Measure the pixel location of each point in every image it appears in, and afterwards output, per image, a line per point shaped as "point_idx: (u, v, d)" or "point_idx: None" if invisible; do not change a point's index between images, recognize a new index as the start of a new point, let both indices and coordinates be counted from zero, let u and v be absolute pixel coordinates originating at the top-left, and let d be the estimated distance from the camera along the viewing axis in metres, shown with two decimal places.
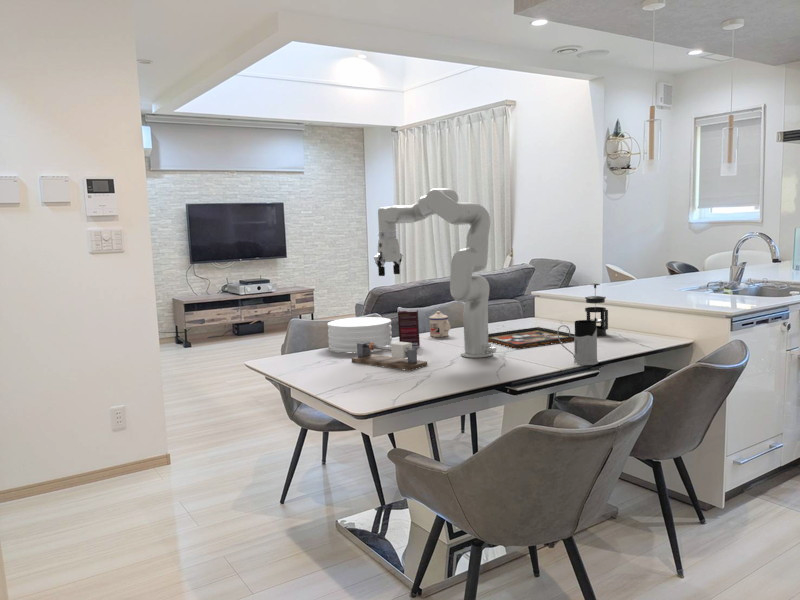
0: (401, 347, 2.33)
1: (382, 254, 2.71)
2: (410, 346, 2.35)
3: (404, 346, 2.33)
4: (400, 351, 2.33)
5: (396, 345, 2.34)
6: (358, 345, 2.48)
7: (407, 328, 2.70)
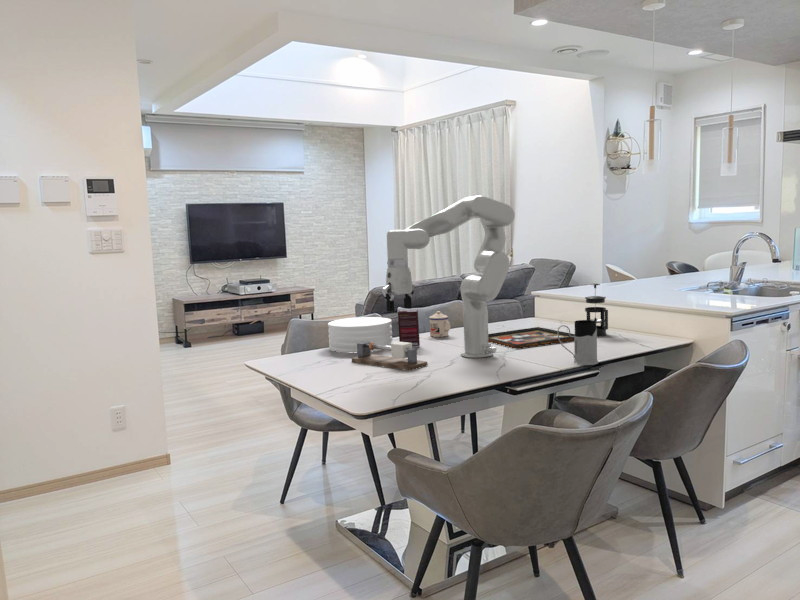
0: (401, 347, 2.33)
1: (391, 286, 2.29)
2: (410, 346, 2.35)
3: (404, 346, 2.33)
4: (400, 351, 2.33)
5: (396, 345, 2.34)
6: (358, 345, 2.48)
7: (407, 328, 2.70)
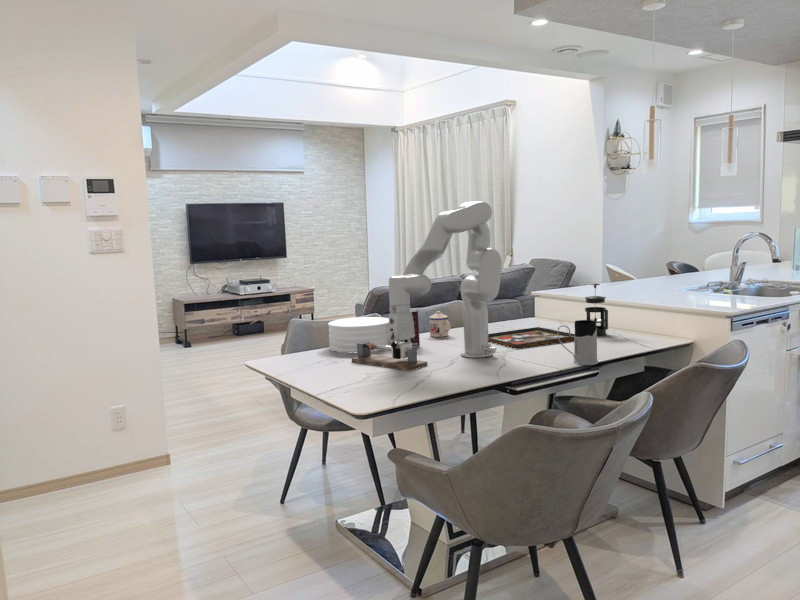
0: (401, 347, 2.33)
1: (394, 335, 2.31)
2: (410, 346, 2.35)
3: (404, 346, 2.33)
4: (400, 351, 2.33)
5: None
6: (358, 345, 2.48)
7: None
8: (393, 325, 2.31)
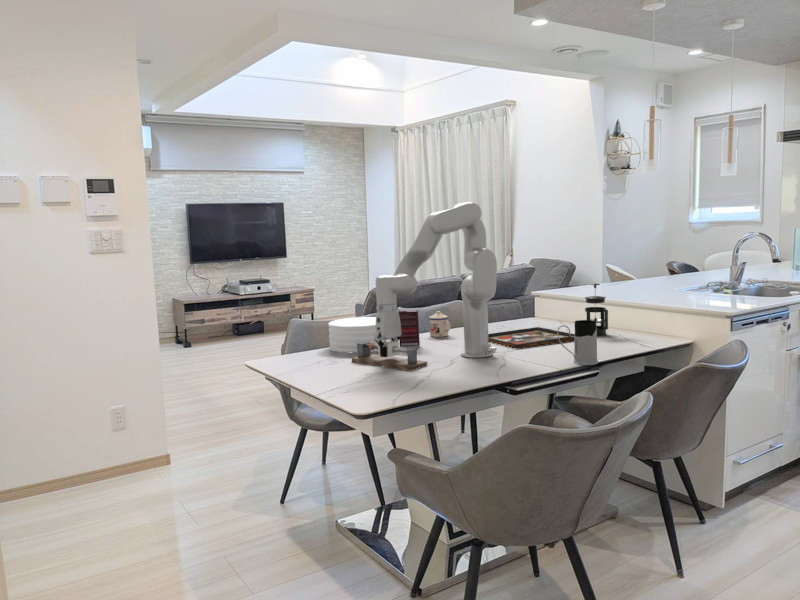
0: (388, 345, 2.37)
1: (381, 334, 2.35)
2: (397, 344, 2.40)
3: (391, 344, 2.37)
4: (387, 349, 2.38)
5: None
6: (358, 345, 2.48)
7: (407, 328, 2.70)
8: (380, 324, 2.35)
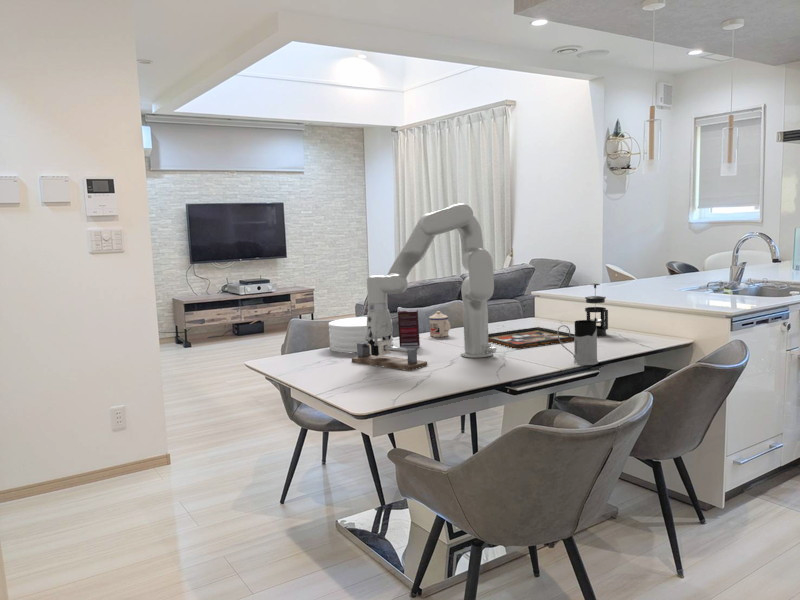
0: (379, 344, 2.40)
1: (372, 333, 2.38)
2: (388, 343, 2.43)
3: (382, 343, 2.40)
4: (378, 348, 2.41)
5: None
6: (358, 345, 2.48)
7: (407, 328, 2.70)
8: (371, 323, 2.38)
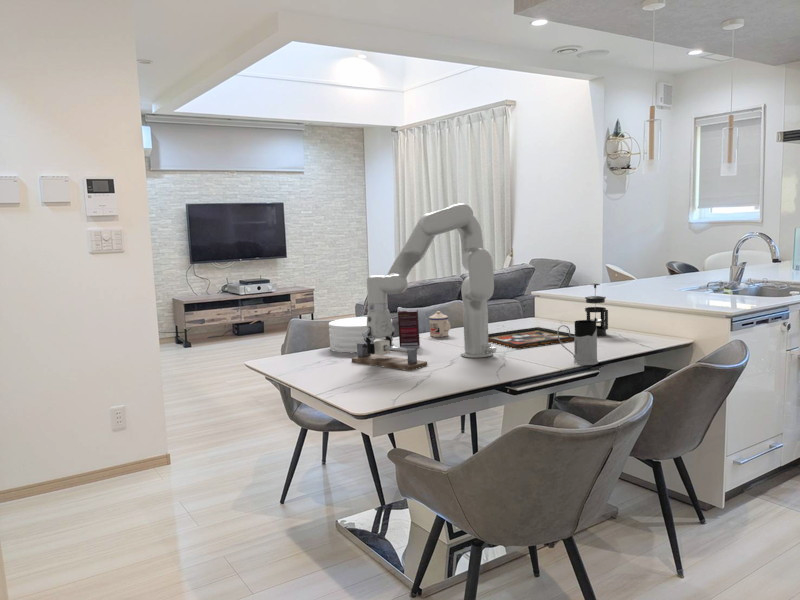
0: (379, 344, 2.40)
1: (371, 329, 2.38)
2: (388, 343, 2.43)
3: (382, 343, 2.40)
4: (378, 348, 2.41)
5: (374, 342, 2.42)
6: (358, 345, 2.48)
7: (407, 328, 2.70)
8: (371, 323, 2.38)
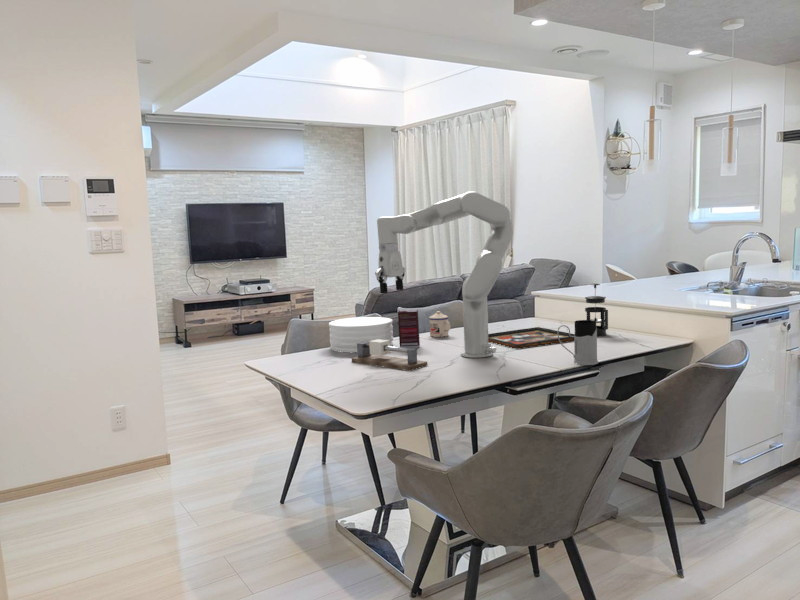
0: (379, 344, 2.40)
1: (384, 269, 2.44)
2: (388, 343, 2.43)
3: (382, 343, 2.40)
4: (378, 348, 2.41)
5: (374, 342, 2.42)
6: (358, 345, 2.48)
7: (407, 328, 2.70)
8: (383, 263, 2.44)
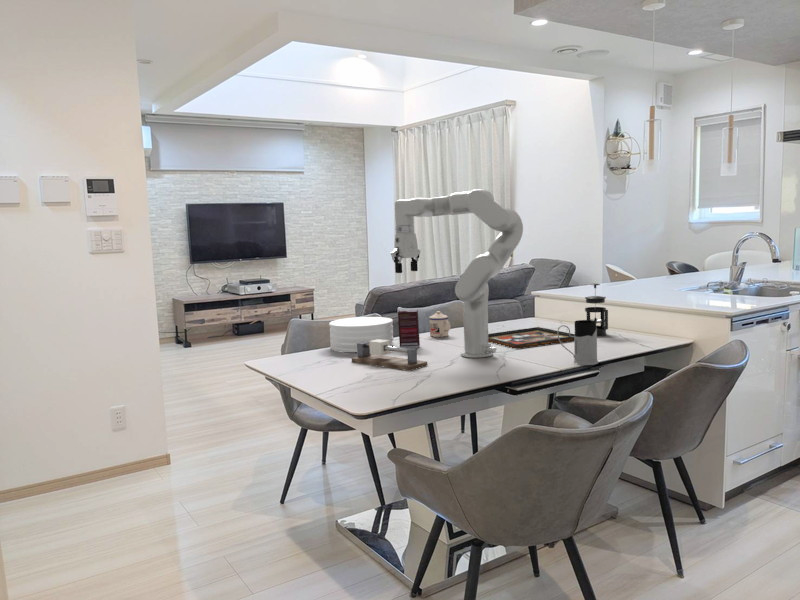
0: (379, 344, 2.40)
1: (399, 250, 2.54)
2: (388, 343, 2.43)
3: (382, 343, 2.40)
4: (378, 348, 2.41)
5: (374, 342, 2.42)
6: (358, 345, 2.48)
7: (407, 328, 2.70)
8: (399, 243, 2.54)
